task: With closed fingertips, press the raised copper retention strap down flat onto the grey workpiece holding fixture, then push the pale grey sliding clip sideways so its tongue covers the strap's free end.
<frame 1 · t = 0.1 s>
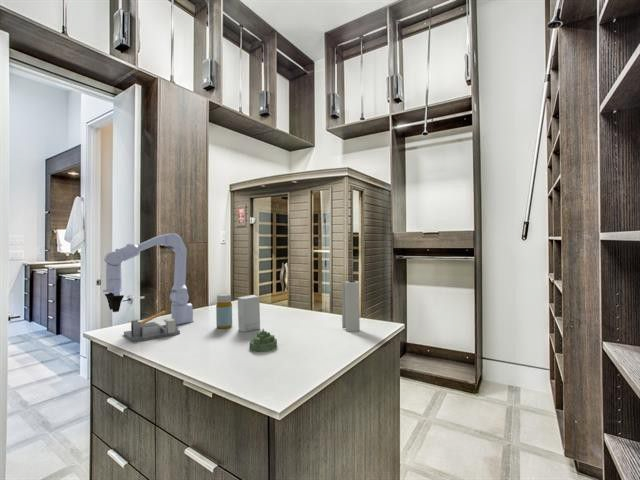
hand: (114, 310, 144), 10 cm above the table, fingers open, 7 cm apart
clip: (169, 325, 142), point 4 cm above the table, slide at 4.5 cm
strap: (150, 318, 142), point 7 cm above the table, hinge at 20.0°
tall grey block: (352, 330, 145), on the table
bottle: (224, 327, 153), on the table
grey workpiece holding fixture: (151, 333, 143), on the table
skincare box: (249, 329, 148), on the table
decorative artifact: (263, 348, 122), on the table
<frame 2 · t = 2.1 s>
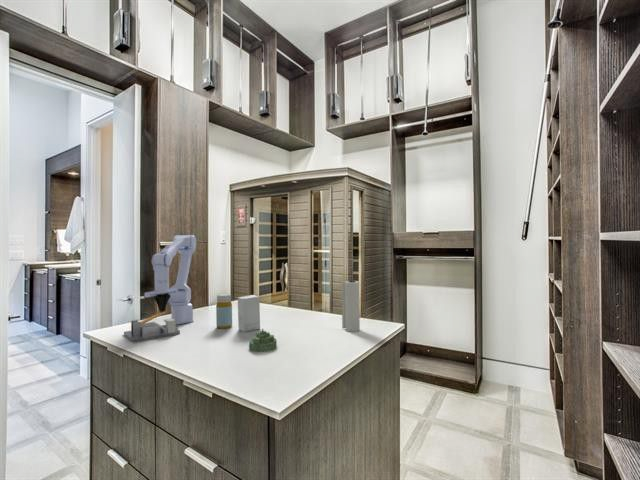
hand: (162, 311, 146), 9 cm above the table, fingers closed
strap: (150, 318, 142), point 7 cm above the table, hinge at 20.0°, touching gripper
everything else where it was.
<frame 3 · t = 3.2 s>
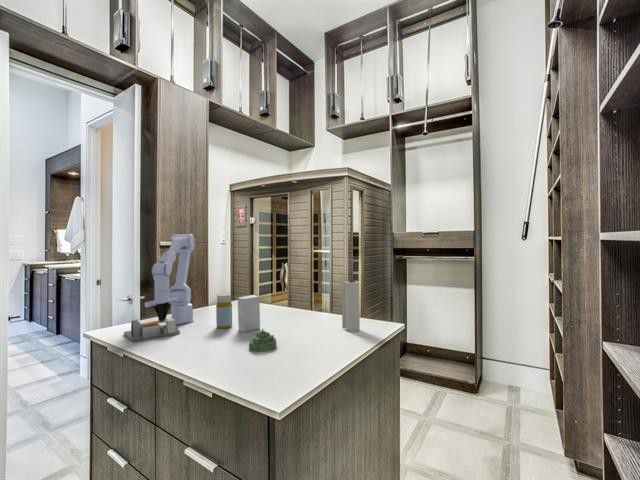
hand: (162, 320, 146), 5 cm above the table, fingers closed, pressing on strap
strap: (151, 323, 143), point 5 cm above the table, hinge at 0.4°, touching gripper
everything else where it was.
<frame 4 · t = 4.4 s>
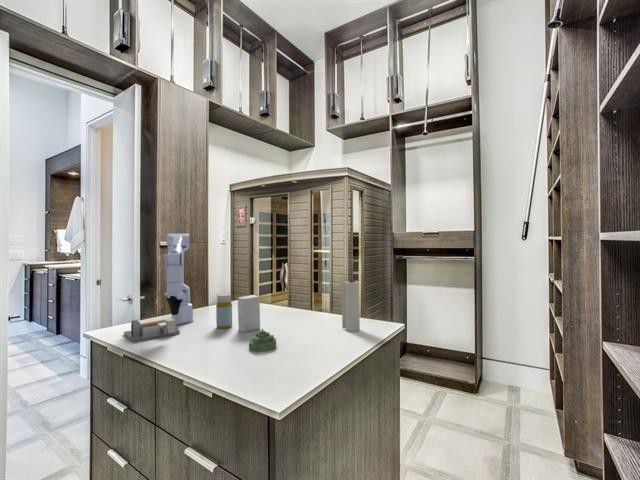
hand: (174, 314, 136), 9 cm above the table, fingers closed
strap: (151, 323, 143), point 5 cm above the table, hinge at 0.4°
everything else where it was.
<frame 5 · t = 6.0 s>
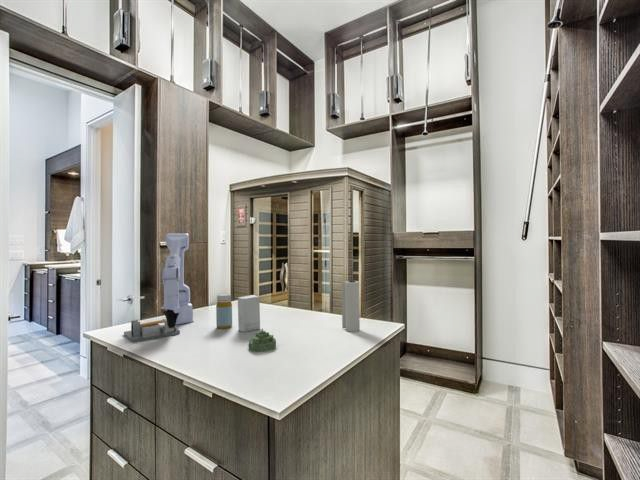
hand: (171, 327, 139), 3 cm above the table, fingers closed
clip: (168, 324, 143), point 4 cm above the table, slide at 2.9 cm, touching gripper
everything else where it was.
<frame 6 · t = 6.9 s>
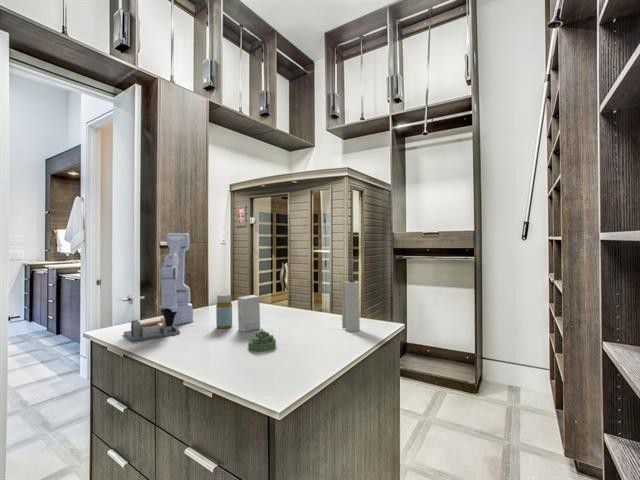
hand: (169, 326, 142), 3 cm above the table, fingers closed
clip: (165, 323, 145), point 4 cm above the table, slide at 0.0 cm, touching gripper
everything else where it was.
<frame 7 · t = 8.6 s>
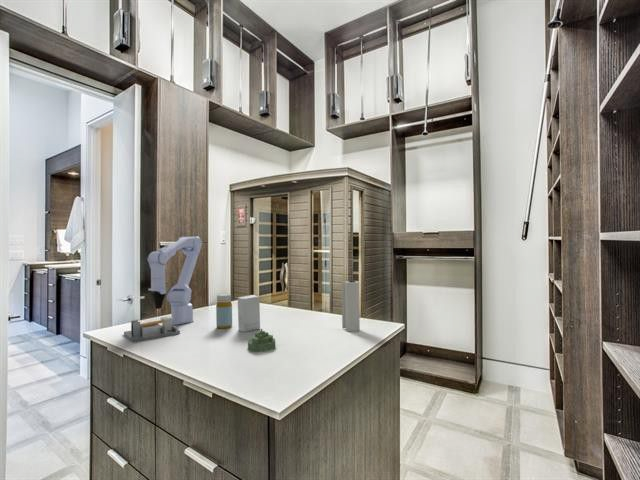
hand: (158, 308, 148), 10 cm above the table, fingers closed
clip: (165, 323, 145), point 4 cm above the table, slide at 0.0 cm
everything else where it was.
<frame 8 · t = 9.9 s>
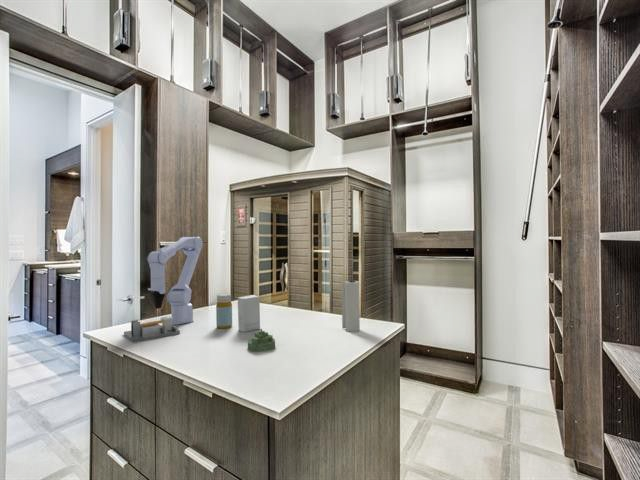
hand: (158, 308, 148), 10 cm above the table, fingers closed
nothing on the table moved.
at the end: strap at +0° (first picture: +20°); clip slide at 0.0 cm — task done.
